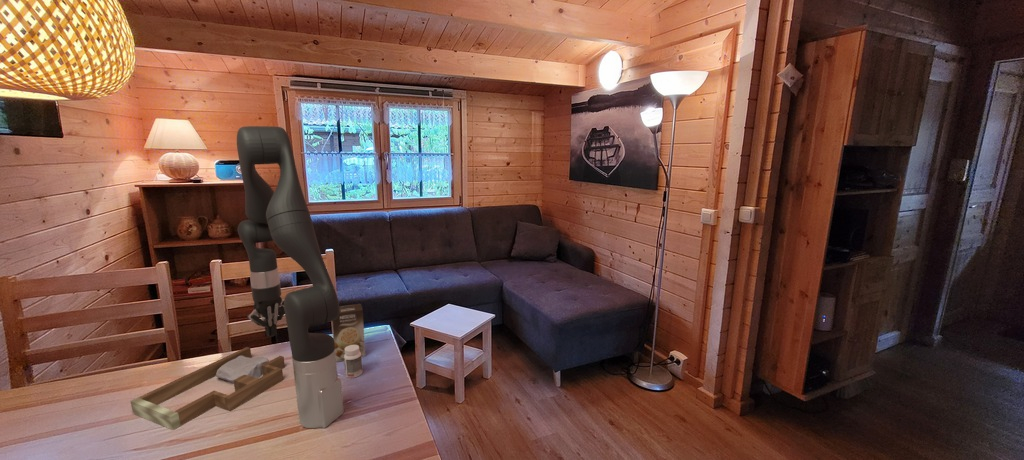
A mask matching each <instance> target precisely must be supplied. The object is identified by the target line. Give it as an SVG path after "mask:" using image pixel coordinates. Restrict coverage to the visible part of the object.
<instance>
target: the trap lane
mask: <svg viewBox="0 0 1024 460" xmlns="http://www.w3.org/2000/svg"><path fill="white" fill-rule="evenodd" d="M238 356H244V357H248V358H253V357H252V351H251V347H248V346H246V347H243V348H242V349H239V350H238V351H236V352H233V353H231V354H229V355H227V356H224V357H222V358H220V359H217V360H216V361H213V362H211V363H209V364H207V365H205V366H203V367H200V368H199V369H197V370H193V371H192V372H190V373H188V374H186V375H183V376H181V377H179V378H177V379H174V380H172V381H170V382H169V383H168V382H167V383H166V384H165V385H161V386H160V387H158V388H155V389H154V390H151V391H149V392H147V393H145V394H143V395H140V396H138V397H136V398H133V399H132V400H130V406H131V411H132V414H133V415H136V416H138V417H141V418H143V419H145V420H147V421H150V422H152V423H155V424H157V425H160V426H162V427H165V428H168V429H170V430H171V431H174V430H176V429H177V428H180V427H181V426H183V425H185V424H187V423H188V422H191V421H192V420H193V419H195V418H197V417H199V416H201V415H203V414H204V413H206V412H208V411H210V410H211V409H213V408H215V407H217V408H220V409H223V410H226V411H229V412H232V411H233V410H236V409H237V408H238V407H240V406H242V405H244V404H245V403H247V402H248V401H250V400H252V399H253V398H256V397H257V396H258V395H261V393H263V392H265V391H267V390H269V389H270V388H272V387H274V386H276V385H277V384H279V383H280V382H282V381H284V373H283V369H284V368H285V367H286V365H285V357H284V356H283V355H279V356H276V357H275V358H273V359H271V360H269V362H267V363H265V364H263V365H262V376H260V377H259V378H254V377H251V376H248V375H243V376H241V377H239V378H237V379H235V380H234V383H233V384H234V385H233V387H234V392H232V393H230V394H226V393H222V392H220V391H216V390H212V391H211V392H209V393H207V394H205V395H203V396H201V397H199V398H197V399H195V400H193V401H191V402H190V403H187V404H186V405H184V406H182V407H180V408H178V409H176V410H171V409H168V408H166V407H163V406H162V405H160V404H162V403H163V402H165V401H168V400H170V399H171V398H174V397H176V396H177V395H180V394H182V393H184V392H186V391H188V390H190V389H192V388H194V387H196V386H198V385H200V384H202V383H205V382H206V381H208V380H211V379H212V378H214V377H216V373H217V370H218V369H219V368H220V367H221V366H222V365H224V364H225V363H227V362H229V361H231V360H233V359H235V358H237V357H238Z"/></svg>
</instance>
